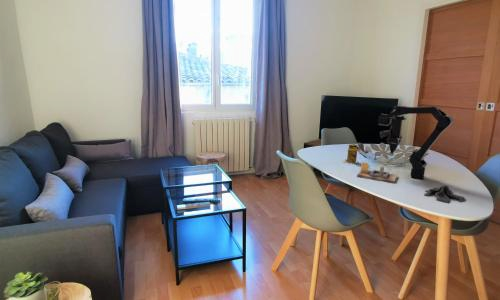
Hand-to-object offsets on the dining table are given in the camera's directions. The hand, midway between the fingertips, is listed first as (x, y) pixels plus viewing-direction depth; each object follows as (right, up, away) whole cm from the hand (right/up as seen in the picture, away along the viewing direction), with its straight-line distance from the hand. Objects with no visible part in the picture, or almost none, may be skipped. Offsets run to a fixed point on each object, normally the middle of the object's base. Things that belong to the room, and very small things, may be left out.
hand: (392, 152), depth 186 cm
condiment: (-18, -7, +25) cm, 31 cm away
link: (-14, -13, -6) cm, 20 cm away
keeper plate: (-12, -14, -7) cm, 20 cm away
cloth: (+7, -22, -34) cm, 41 cm away
